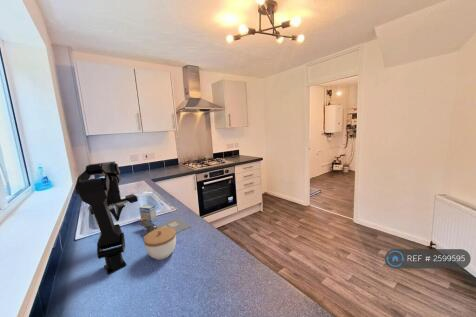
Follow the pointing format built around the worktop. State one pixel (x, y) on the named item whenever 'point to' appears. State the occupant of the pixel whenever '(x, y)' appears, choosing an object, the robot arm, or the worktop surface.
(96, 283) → the worktop surface
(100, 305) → the worktop surface
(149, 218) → the medicine box
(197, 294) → the worktop surface
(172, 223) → the chassis plate
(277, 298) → the worktop surface
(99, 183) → the robot arm
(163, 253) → the lidded bowl
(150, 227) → the cable arm
